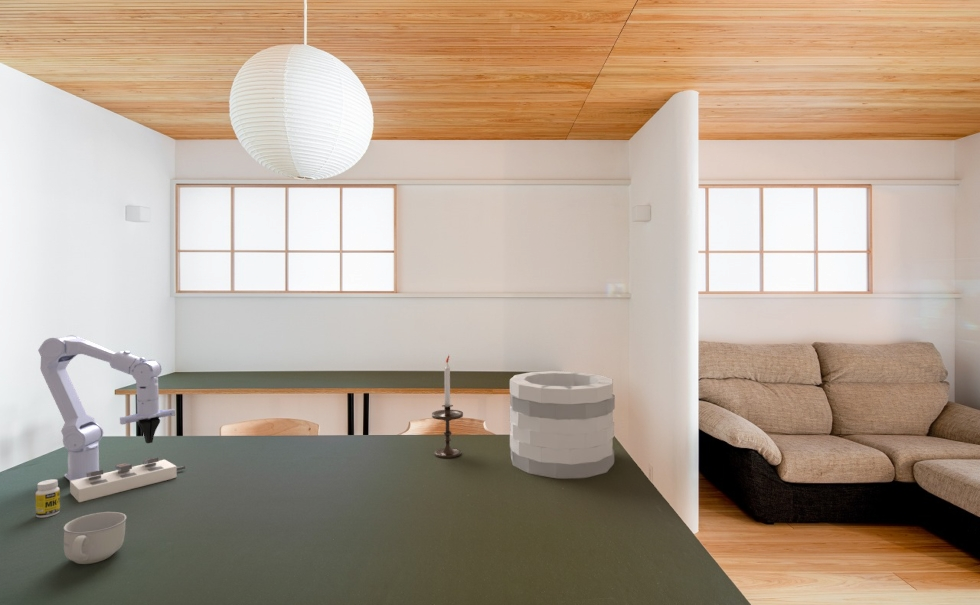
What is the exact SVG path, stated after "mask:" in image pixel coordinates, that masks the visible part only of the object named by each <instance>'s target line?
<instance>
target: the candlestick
mask: <svg viewBox="0 0 980 605" xmlns="http://www.w3.org/2000/svg"><path fill="white" fill-rule="evenodd" d="M449 358H450V355H448V356H447V357H446V360H445V363H446V365H445V367H444V404H443V405H441V407H442V408H444V409H440V410H439V409H438V410H435V411H433V412H431V418H433V419H434V420H440V421H445V430H444V431H443V435H444V436H445V438H444V439H443V440H444V442H445V446H444V447H441V448H438V449H436V450H434V456H435V458H440V459H453V458H454V459H455V458H457V457H458V458H459V456H461V454H462V452H461V450H460V449H459V448H456V447H451V445H450V442H452V439H451V436H452V433H453V432H452V430H450V422H451V421H454V420H459V419H462V418H463V417H464V412H463V411H461V410H458V409H451V408H452V407H454V405H453V404H451V367H449V360H450V359H449Z"/></svg>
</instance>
